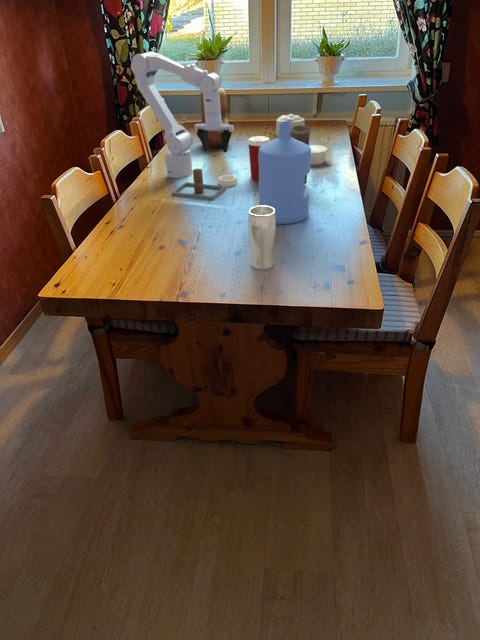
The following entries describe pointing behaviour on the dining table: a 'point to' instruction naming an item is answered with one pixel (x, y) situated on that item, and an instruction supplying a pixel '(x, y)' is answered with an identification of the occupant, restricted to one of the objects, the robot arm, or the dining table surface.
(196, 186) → the dowel
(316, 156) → the ramekin
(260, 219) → the beer glass
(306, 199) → the water jug
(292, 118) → the lumpy-topped squat cylinder
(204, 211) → the dining table surface
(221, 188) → the tray
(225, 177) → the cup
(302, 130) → the brown rounded cylinder
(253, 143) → the coffee cup
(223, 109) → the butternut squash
